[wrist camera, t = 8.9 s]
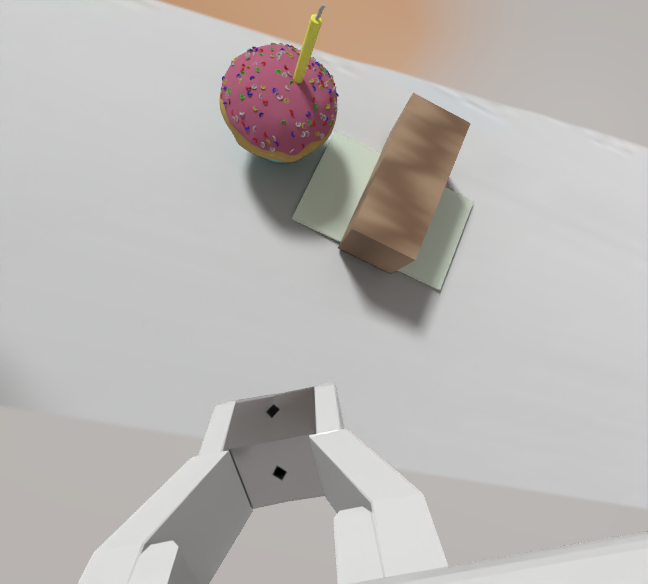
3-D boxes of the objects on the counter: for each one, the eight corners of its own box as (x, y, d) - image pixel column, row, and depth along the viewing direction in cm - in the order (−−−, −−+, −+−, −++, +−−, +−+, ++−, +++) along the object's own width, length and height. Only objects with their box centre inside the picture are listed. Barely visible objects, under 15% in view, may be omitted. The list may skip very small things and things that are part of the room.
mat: (291, 219, 29) (291, 217, 29) (334, 132, 31) (335, 130, 30) (438, 290, 30) (440, 290, 30) (471, 202, 32) (473, 201, 31)
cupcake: (316, 89, 31) (344, -66, 19) (337, 178, 30) (381, 72, 18) (218, 98, 29) (184, -64, 18) (237, 192, 28) (215, 87, 17)
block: (351, 228, 24) (413, 92, 26) (337, 248, 29) (390, 131, 31) (415, 260, 24) (470, 123, 27) (391, 273, 29) (439, 157, 32)
